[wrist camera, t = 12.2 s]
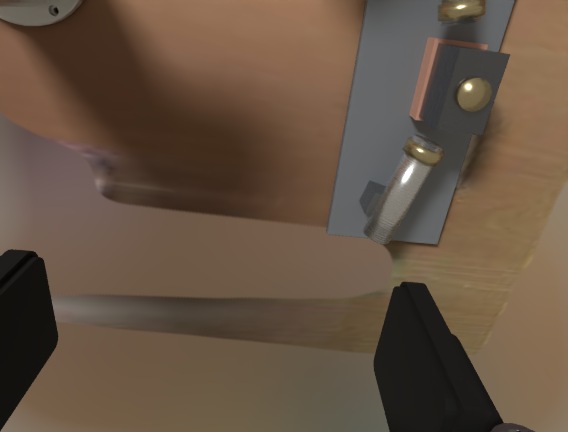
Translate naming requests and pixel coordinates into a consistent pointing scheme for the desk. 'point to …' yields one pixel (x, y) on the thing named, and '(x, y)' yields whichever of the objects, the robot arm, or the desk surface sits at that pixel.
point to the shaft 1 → (399, 189)
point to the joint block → (462, 88)
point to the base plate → (402, 111)
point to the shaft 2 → (460, 11)
